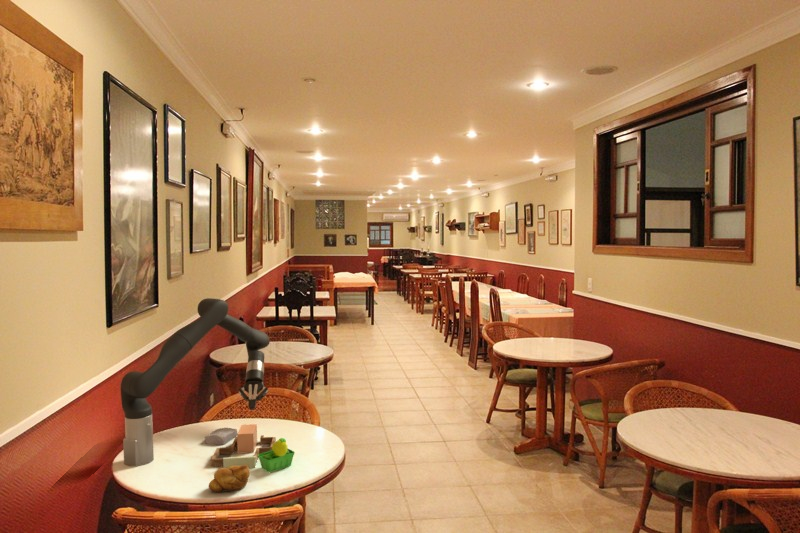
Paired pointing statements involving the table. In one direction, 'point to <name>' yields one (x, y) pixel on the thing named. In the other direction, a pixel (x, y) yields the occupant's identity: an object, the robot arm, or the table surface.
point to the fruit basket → (276, 456)
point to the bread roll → (230, 479)
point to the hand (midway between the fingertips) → (251, 408)
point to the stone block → (221, 436)
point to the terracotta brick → (247, 438)
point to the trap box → (226, 451)
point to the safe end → (239, 461)
